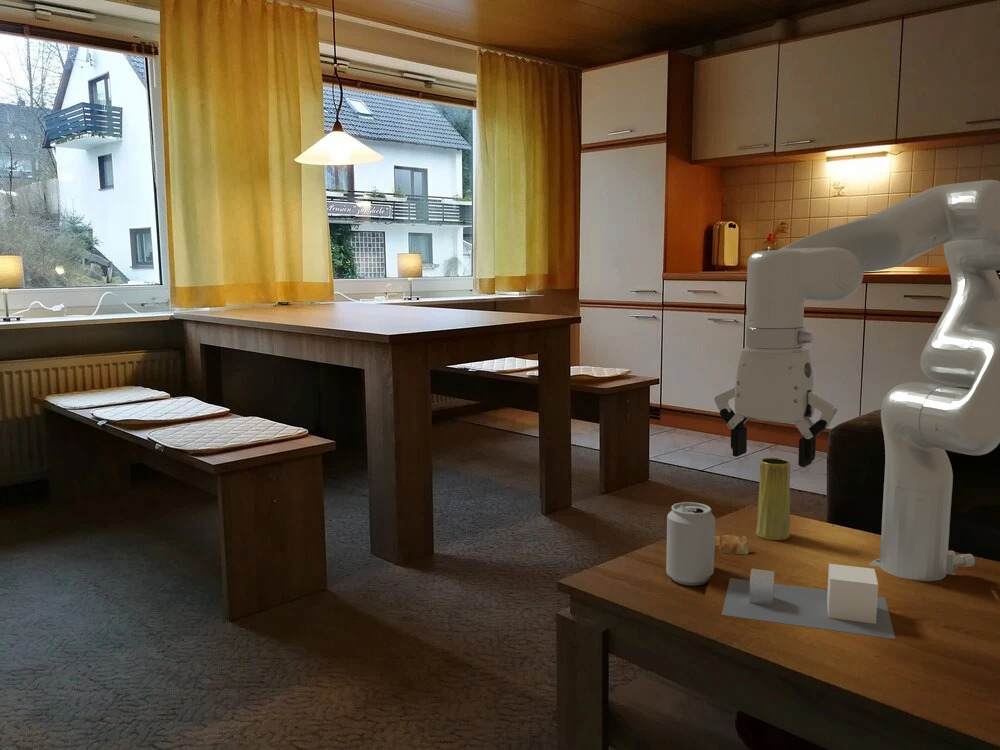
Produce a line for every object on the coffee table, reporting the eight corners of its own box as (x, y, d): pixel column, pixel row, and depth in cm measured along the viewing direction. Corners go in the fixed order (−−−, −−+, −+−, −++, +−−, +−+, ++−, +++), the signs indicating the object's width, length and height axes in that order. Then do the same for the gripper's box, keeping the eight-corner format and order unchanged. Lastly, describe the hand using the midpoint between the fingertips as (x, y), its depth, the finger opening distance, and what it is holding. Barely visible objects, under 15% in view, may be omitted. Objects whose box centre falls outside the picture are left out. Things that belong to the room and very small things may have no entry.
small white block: (773, 597, 117) (774, 571, 116) (772, 605, 114) (773, 579, 113) (750, 594, 118) (751, 568, 117) (749, 602, 115) (750, 576, 114)
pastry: (693, 560, 136) (693, 539, 136) (694, 547, 143) (694, 527, 142) (750, 565, 134) (750, 543, 133) (748, 551, 140) (749, 530, 140)
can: (715, 589, 124) (717, 515, 122) (666, 585, 125) (667, 512, 123) (712, 571, 131) (714, 501, 129) (666, 568, 132) (667, 498, 131)
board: (884, 606, 116) (885, 597, 116) (894, 649, 103) (895, 638, 103) (729, 587, 124) (729, 578, 124) (721, 624, 111) (721, 614, 111)
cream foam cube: (872, 606, 113) (874, 568, 112) (876, 623, 108) (878, 584, 107) (827, 600, 115) (828, 563, 115) (828, 617, 110) (830, 578, 109)
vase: (758, 540, 145) (760, 464, 143) (753, 529, 151) (755, 456, 149) (792, 541, 144) (795, 465, 142) (786, 530, 150) (789, 457, 148)
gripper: (848, 340, 107) (843, 463, 109) (728, 335, 118) (727, 446, 121) (827, 345, 101) (823, 475, 104) (704, 339, 113) (703, 456, 115)
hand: (771, 459), depth 112 cm, fingers open, 9 cm apart
